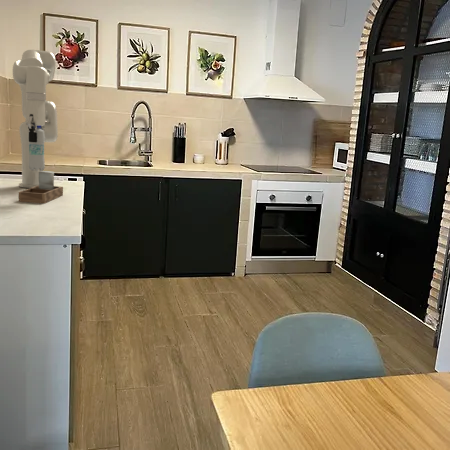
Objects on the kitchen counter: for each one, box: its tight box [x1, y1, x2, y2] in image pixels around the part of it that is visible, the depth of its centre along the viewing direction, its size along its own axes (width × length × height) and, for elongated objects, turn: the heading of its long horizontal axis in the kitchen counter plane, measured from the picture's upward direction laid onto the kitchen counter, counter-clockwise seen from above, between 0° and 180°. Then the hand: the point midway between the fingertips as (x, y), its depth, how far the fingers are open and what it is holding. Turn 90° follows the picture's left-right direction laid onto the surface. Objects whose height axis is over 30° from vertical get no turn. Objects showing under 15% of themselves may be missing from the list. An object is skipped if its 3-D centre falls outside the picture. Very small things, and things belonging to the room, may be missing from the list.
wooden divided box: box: [18, 170, 64, 204], centre depth 220 cm, size 22×11×11 cm, turn 178°
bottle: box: [28, 124, 46, 171], centre depth 211 cm, size 7×7×20 cm
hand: (36, 141), depth 210 cm, fingers closed on bottle, 6 cm apart
